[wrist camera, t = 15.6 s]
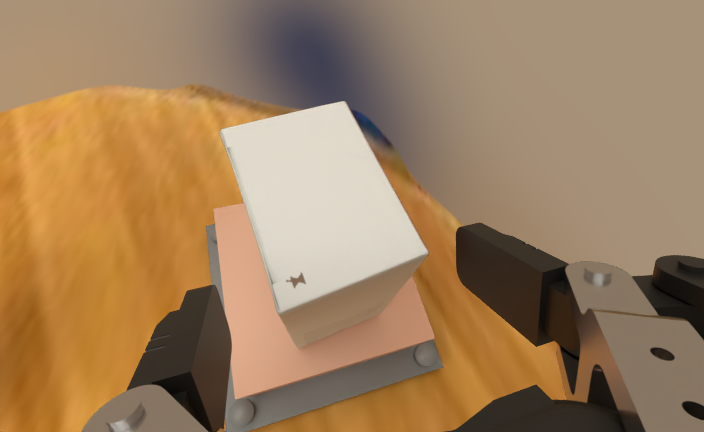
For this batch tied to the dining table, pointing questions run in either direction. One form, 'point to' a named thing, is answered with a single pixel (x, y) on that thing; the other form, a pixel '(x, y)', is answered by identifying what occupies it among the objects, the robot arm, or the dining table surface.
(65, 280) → the dining table surface
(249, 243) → the tower base
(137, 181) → the dining table surface
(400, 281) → the small box
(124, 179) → the dining table surface
